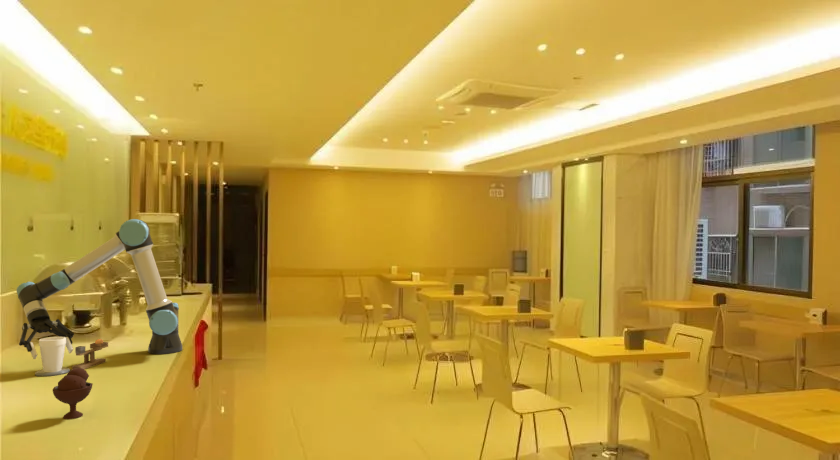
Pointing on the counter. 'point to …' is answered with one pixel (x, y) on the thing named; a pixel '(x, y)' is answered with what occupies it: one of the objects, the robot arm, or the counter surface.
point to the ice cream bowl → (73, 390)
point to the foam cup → (52, 353)
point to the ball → (99, 341)
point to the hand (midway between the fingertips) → (53, 354)
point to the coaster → (42, 373)
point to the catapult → (93, 347)
